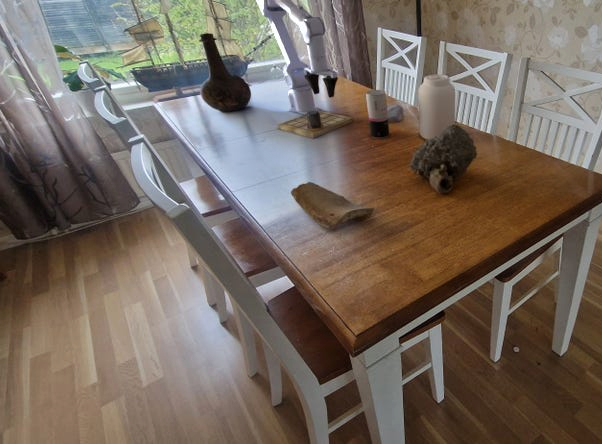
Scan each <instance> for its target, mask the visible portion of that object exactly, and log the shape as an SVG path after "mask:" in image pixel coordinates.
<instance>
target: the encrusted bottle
mask: <svg viewBox="0 0 602 444" xmlns="http://www.w3.org/2000/svg"><path fill="white" fill-rule="evenodd" d="M412 155H413V156H412V158H411V162H410V163H409V165H408V166H409V168H410V169H411V170H412V171H413V174H417V175H418V176H419V177H420V178H422V179H425V180H429V184H430V186H431V187H432V188H433V189H434V190H435V191H436V192H437V193H438V194H442V195H445V194H448V193H450V192H451V190H452V189H453V186H454V182H453V181H456V180H457V179H460V178H461V177H462V176H463V175H465V174H466V172H467V171H468V169H469V167H470V166H471V164H472V162H473V161H474V160H475V159H477V156H478V153H477V146H476V145H475V141H474V138H472V137H471V136H470V133H469V132H468V131H467V130H465V129H463V128H462V127H461V126H460V125H458V124H455V125H454V124H453V125H451V126H448V127H447V128H446V129H445V130H444V131H443V132H442V133H441V134H440V135H438V136H436V137H435V138H430V139H428V140H427V139H426V140H425V141H424V142H423V144H422V145H421V146H417V147H416V149H415V151H414V153H413V154H412Z"/></svg>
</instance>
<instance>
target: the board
mask: <svg viewBox="0 0 602 444" xmlns="http://www.w3.org/2000/svg"><path fill="white" fill-rule="evenodd" d="M317 111H318V113H320V117H321V122H322V124H321V126H320V127H318V128H311V127H310V126H309V125H308V120H307V115H306V114H302V115H301V116H298V117H295V118H292V119H289V120H287V121H283V122H280V123H277V125H276V126H277V129H279V130H282V131H285V132H288V133H292V134H296V135H300V136H303V137H306V138H307V137H308V138H311V139H315V138H318V137H320V136H323V135H324V134H327V133H331V132H332V131H334V130H336V129H338V128H341V127H344V126H346V125H348V124H351V123H352V122H353V121H354V120H353V117H350V116H346V115H341V114H336V113H333V112H329V111H323V110H321V109H320V110H317Z"/></svg>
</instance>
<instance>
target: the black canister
mask: <svg viewBox="0 0 602 444" xmlns="http://www.w3.org/2000/svg"><path fill="white" fill-rule="evenodd" d="M305 115H307V120H308V125H309V126H310V127H311V128H318V127H320V126H321V124H322V122H321V117H320V113H318V111H309V112H307V114H305Z"/></svg>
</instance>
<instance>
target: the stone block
mask: <svg viewBox="0 0 602 444" xmlns="http://www.w3.org/2000/svg"><path fill="white" fill-rule="evenodd" d="M387 112H388V123H397V122H400V121H402V119H403V117H404V108H403V106H401V105H399V104H394V105H390V106H387Z"/></svg>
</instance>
